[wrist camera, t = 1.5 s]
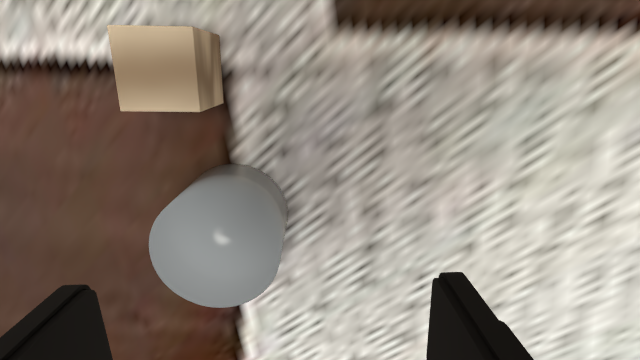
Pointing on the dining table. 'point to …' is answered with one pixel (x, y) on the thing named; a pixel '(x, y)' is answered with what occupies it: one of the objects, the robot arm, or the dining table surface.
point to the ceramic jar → (221, 237)
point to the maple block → (166, 68)
